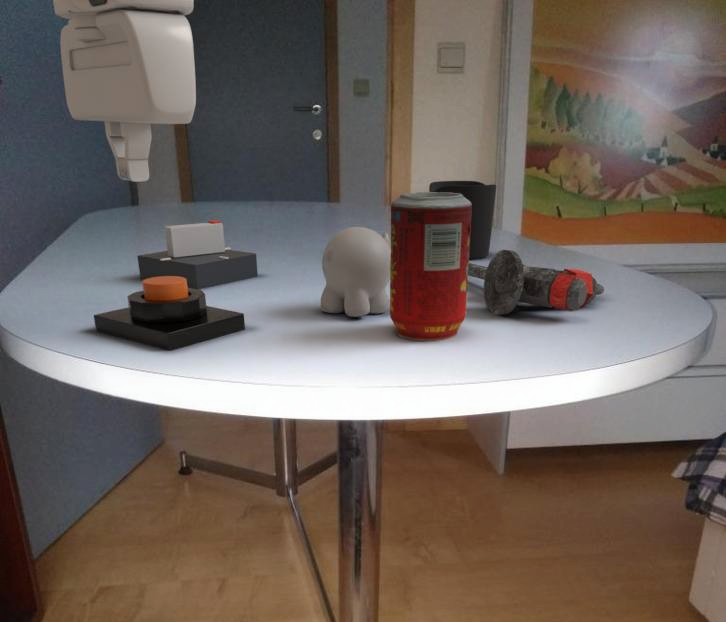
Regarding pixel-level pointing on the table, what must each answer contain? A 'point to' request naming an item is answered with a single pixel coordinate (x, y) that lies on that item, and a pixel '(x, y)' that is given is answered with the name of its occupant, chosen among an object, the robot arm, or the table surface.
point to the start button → (165, 288)
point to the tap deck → (200, 267)
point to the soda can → (429, 264)
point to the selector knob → (195, 239)
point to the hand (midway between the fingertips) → (134, 180)
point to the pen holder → (474, 211)
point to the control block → (169, 321)
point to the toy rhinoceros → (356, 272)
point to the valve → (532, 285)
